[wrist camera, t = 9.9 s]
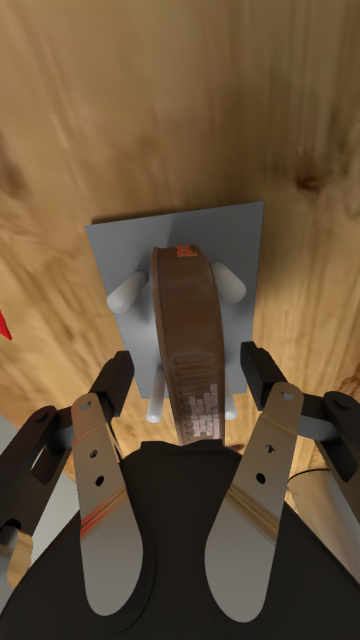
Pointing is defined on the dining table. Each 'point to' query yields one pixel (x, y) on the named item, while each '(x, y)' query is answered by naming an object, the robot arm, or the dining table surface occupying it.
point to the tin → (190, 340)
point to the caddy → (136, 289)
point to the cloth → (4, 327)
